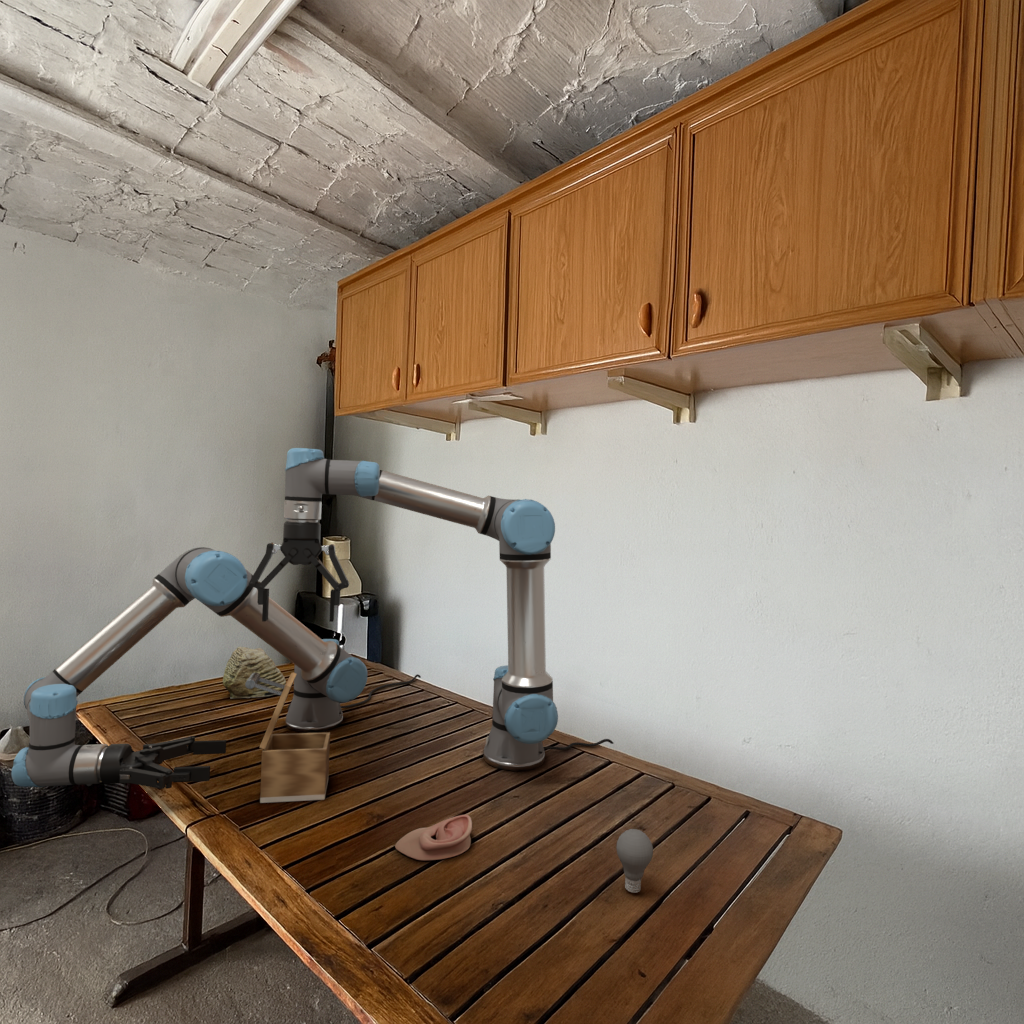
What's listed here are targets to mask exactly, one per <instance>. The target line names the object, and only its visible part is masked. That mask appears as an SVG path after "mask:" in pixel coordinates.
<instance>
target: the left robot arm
mask: <svg viewBox="0 0 1024 1024" xmlns="http://www.w3.org/2000/svg"><path fill="white" fill-rule="evenodd" d="M253 575H254V574H252V573H251V572H250V571H249V570H247V569H246V567H245V566H244V564H243V563H242V561H241V560H239V558H237V557H236V556H234V555H233V554H231V553H229V552H226V551H223V550H215V549H213V548H211V547H204V546H200V547H198V546H197V547H194V548H191V549H188V550H186V551H184V552H183V553H182V554H179V556H177V557H176V558H175V559H174V560H173V561H171V563H169V564H168V565H167V566H166V567H165V568H164V569H163V570H161V571H160V572H159V573H158V574H157V575H156V576H155V577H153V578H152V582H151V585H150V587H149V588H147V590H145V591H144V592H143V593H142V594H140V595H139V596H138V597H137V598H136V599H134V601H132V602H131V603H130V604H129V605H127V606H126V607H125V608H124V609H122V611H120V613H118V614H117V615H116V616H115V617H113V618H112V620H110V621H109V622H108V623H107V624H106V625H104V626H103V627H102V628H101V629H100V630H98V631H97V632H96V633H95V634H94V635H93V636H92V637H90V638H89V639H88V640H87V641H86V642H84V643H83V644H82V645H81V646H80V647H79V648H78V649H76V650H75V651H73V653H72V654H71V655H69V656H68V657H67V658H66V659H65V660H64V661H62V662H61V663H60V664H59V665H58V666H56V667H55V668H54V669H53V670H52V671H51V672H49V673H48V674H47V675H46V676H43V677H39V678H37V679H35V680H34V681H32V682H30V684H29V685H28V686H27V688H26V689H25V692H24V696H23V706H24V708H25V709H26V712H27V717H28V721H29V742H28V746H26V747H23V748H21V749H20V750H19V751H18V752H17V754H16V755H15V757H14V759H13V766H12V767H11V779H12V782H13V783H14V784H15V785H16V786H18V787H21V788H22V787H24V788H26V787H27V788H40V789H41V788H46V787H58V786H59V787H61V786H80V785H82V786H83V785H86V787H91V786H92V785H99V784H101V783H102V784H104V785H106V784H110V785H111V784H131V785H137V786H142V787H147V788H151V789H158V790H163V789H171V788H172V787H173V783H174V784H175V783H195V782H196V783H197V782H209V781H210V780H211V765H201V766H200V765H199V766H177V767H174V768H173V769H171V768H168V767H165V766H163V765H162V764H163V762H165V761H168V760H171V759H175V758H179V757H182V756H187V755H189V754H193V755H195V756H197V755H221V754H225V755H226V753H227V739H217V740H215V739H214V740H213V739H211V740H196V736H190V737H189V736H188V737H183V738H179V739H178V738H177V739H172V740H168V741H162V742H161V741H160V742H156V743H145V744H142V749H140V750H136V751H134V749H133V746H132V745H131V744H130V743H111V744H107V743H97V744H76V722H77V706H78V698H77V697H79V696H80V695H81V694H82V693H83V692H84V691H85V690H86V689H87V688H88V687H90V686H91V685H92V684H93V683H94V682H96V681H97V680H98V678H100V677H101V676H102V675H103V674H104V673H105V672H106V671H107V670H109V669H110V668H111V667H112V666H113V665H114V664H115V663H117V661H119V660H120V659H121V658H122V657H123V656H124V655H125V654H127V653H128V652H129V651H130V650H131V649H132V648H133V647H135V645H136V644H138V643H139V642H140V641H141V640H143V638H145V637H146V636H147V635H148V634H150V632H152V630H153V629H155V628H156V627H157V626H158V625H160V624H161V623H162V622H163V621H164V620H165V619H166V618H168V616H169V615H170V614H172V613H173V612H174V611H175V610H177V609H179V608H185V607H186V606H187V605H188V604H190V602H192V601H194V600H196V601H198V602H200V603H201V604H202V605H204V606H205V607H206V608H208V609H209V610H211V611H212V612H213V613H214V614H216V615H217V616H219V617H220V618H221V617H222V618H224V617H229V616H230V617H232V618H233V619H234V620H236V621H237V622H238V623H239V624H241V625H242V626H243V627H245V628H246V629H247V630H249V631H250V632H251V633H253V634H254V635H255V636H256V637H258V638H259V639H261V640H262V641H263V642H264V643H266V644H267V645H269V646H270V647H271V648H272V649H274V650H275V651H276V652H278V653H279V654H280V655H281V656H283V657H284V658H286V659H287V660H288V661H290V662H291V663H292V664H293V665H294V672H293V673H296V674H297V675H296V677H295V679H294V682H293V695H292V696H293V697H292V699H291V702H290V703H289V704H288V706H287V708H286V709H287V710H288V711H287V713H286V715H285V726H286V728H287V729H289V730H291V731H294V732H295V731H296V732H300V733H319V732H325V731H329V730H332V729H335V728H337V727H339V726H340V725H342V723H343V722H344V714H343V709H349V708H353V707H357V706H360V705H363V704H365V703H367V702H370V700H371V698H372V694H373V693H374V692H376V691H378V690H381V689H383V688H386V687H391V686H399V685H400V686H401V685H407V684H410V683H413V682H414V681H415V680H416V679H417V678H419V679H420V678H422V676H421V675H420V674H415V675H414V677H413V678H411V679H410V680H407V681H401V682H392V683H385V684H383V685H380V686H377V687H375V688H374V689H373V688H372V689H371V691H370V692H369V693H368V698H366V699H364V700H362V701H359V702H356V703H352V704H347V705H341V704H344V703H349V702H352V701H354V700H355V699H357V698H358V697H359V696H360V695H361V693H363V691H364V689H365V687H366V685H367V682H368V675H369V673H368V669H367V666H366V664H365V662H363V661H362V660H361V659H360V658H359V657H356V656H353V655H351V654H350V653H349V652H347V650H345V649H344V648H343V647H341V646H340V641H339V640H338V639H336V638H323V639H322V638H321V637H320V636H318V635H317V634H316V633H314V632H313V631H312V630H311V629H310V628H308V627H307V626H305V625H304V624H303V623H302V622H301V621H300V620H298V619H297V618H296V617H295V616H293V615H292V614H291V613H290V612H289V611H287V610H286V609H285V608H284V607H282V606H281V604H278V603H277V602H276V601H275V600H273V599H272V598H271V597H270V596H269V608H268V620H267V621H262V610H263V605H258V602H257V601H258V590H257V588H255V587H251V586H249V582H250V580H251V578H252V576H253Z"/></svg>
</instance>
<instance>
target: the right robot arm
mask: <svg viewBox="0 0 1024 1024" xmlns="http://www.w3.org/2000/svg"><path fill="white" fill-rule="evenodd" d="M284 471H285V472H284V473H285V474H284V476H285V477H284V478H285V479H284V505H283V506H284V510H283V518H284V519H285V520H286V521H284V522H283V531H282V534H283V535H282V543H281V544H279V543H275V542H269V543H267V544H266V548H265V553H264V555H263V557H262V559H261V561H260V562H259V564H258V566H257V567H256V569H255V571H254V573H253V574H252V575H253V576H252V578H251V580H250V582H249V586H251V587H255V588H257V590H258V601H257V602H258V605H263V610H262V621H267V620H268V608H269V597H270V588H266V587H267V586H268V585H269V584H270V583H271V582H272V581H273V580H274V578H276V576H278V574H279V573H280V572H281V571H282V570H283V569H284V568H285V567H286V566H287V565H288V564H291V565H293V566H298V565H302V566H309V565H311V564H312V565H313V566H314V567H315V568H316V569H317V570H318V572H319V573H320V574H321V575H322V576H323V577H324V579H325V580H326V582H328V584H329V585H330V586H331V587H332V588H333V589H332V588H331V589H330V595H329V596H330V597H329V619H328V620H329V622H334V621H335V606H339V605H340V603H341V591H342V590H344V589H347V588H349V586H350V581H349V580H348V578H347V577H348V576H347V575H346V573H345V571H344V569H343V566H342V565H341V562H340V560H339V558H338V556H337V553H336V545H335V544H334V543H331V544H325V545H322V543H321V531H322V530H321V528H322V527H321V526H322V524H321V523H320V522H319V521H320V520H322V506H323V504H322V500H323V499H322V497H323V495H336V496H337V495H338V496H354V497H359V498H362V499H365V500H369V501H375V502H378V503H381V504H384V505H389V506H392V507H396V508H400V509H403V510H408V511H411V512H414V513H417V514H418V513H419V514H421V515H424V516H428V517H432V518H436V519H440V520H444V521H448V522H451V523H455V524H458V525H462V526H466V527H469V528H473V529H475V531H476V532H477V534H479V535H482V536H483V535H484V536H486V537H488V538H491V539H494V540H496V541H498V542H499V543H498V546H499V547H498V549H499V561H500V562H501V564H503V565H504V566H505V569H506V614H507V615H506V618H507V626H506V627H507V665H500V666H497V667H496V668H495V669H494V676H493V694H492V695H493V698H492V699H493V700H492V716H491V717H492V719H491V728H490V731H489V733H488V735H487V736H486V738H485V745H484V748H483V756H482V757H483V760H484V762H486V764H488V765H490V766H491V767H494V768H496V769H500V770H505V771H511V772H512V771H513V772H519V771H520V772H521V771H530V770H533V769H536V768H538V767H540V766H542V765H544V763H545V760H546V759H545V758H546V757H545V756H546V752H545V750H556V751H566V750H569V749H571V748H572V747H574V746H580V747H588V748H591V747H592V748H593V747H597V746H599V745H601V744H603V743H607V742H608V743H609V744H611V745H613V744H614V742H613V741H612V740H611V739H610V738H604V739H601V740H599V741H597V742H594V743H593V742H592V743H587V742H585V743H584V742H577V741H576V742H571V743H570V744H568V745H566V746H544V744H543V742H544V741H546V740H547V739H548V738H549V737H550V736H551V735H552V734H554V732H555V730H556V728H557V726H558V723H559V713H558V707H557V706H556V703H555V702H554V681H553V680H554V679H553V676H552V675H551V674H550V673H548V671H547V658H546V657H547V655H546V652H547V651H546V650H547V649H546V598H545V597H546V596H545V595H546V594H545V593H546V592H545V591H546V588H545V587H546V586H545V585H546V584H545V567H546V565H547V564H549V562H550V561H551V560H552V542H553V540H554V538H555V533H556V523H555V519H554V517H553V514H552V513H551V511H550V510H549V509H548V507H546V506H545V505H544V504H542V503H541V502H539V501H538V500H534V499H528V498H523V499H519V498H518V499H511V498H510V499H509V498H499V497H495V496H492V495H486V496H485V497H481V496H477V495H474V494H470V493H469V494H468V493H465V492H462V491H458V490H454V489H451V488H447V487H444V486H440V485H437V484H433V483H429V482H427V481H422V480H419V479H415V478H412V477H409V476H404V475H402V474H401V475H400V474H398V473H394V472H391V471H387V470H383V469H381V467H380V464H379V463H378V462H376V461H375V462H374V461H368V460H346V459H330V458H329V459H328V458H325V456H324V452H323V450H322V449H318V448H306V447H292V448H290V449H289V450H288V451H287V454H286V463H285V468H284ZM278 551H280V552H281V553H282V555H283V556H284V557H283V559H282V560H281V561H280V562H279V563H278V564H277V565H276V566H275V567H274V568H273V569H272V570H271V571H270V573H268V574H267V575H266V576H265V578H264V579H263V580H262V581H259V580H260V578H261V577H262V575H263V574H264V572H265V569H266V568H267V566H268V565H269V562H270V561H271V559H272V558H273V555H275V554H276V553H278ZM322 551H323V552H324V553H325V555H326V556H329V559H330V561H331V564H332V566H333V568H334V570H335V572H336V574H337V576H338V578H339V580H340V583H339V581H337V579H336V578H335V576H333V574H332V573H331V572H330V570H328V568H327V567H326V566H325V564H324V563H323V562H322V560H321V559H320V558H319V555H320V554H321V552H322Z"/></svg>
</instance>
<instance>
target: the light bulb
mask: <svg viewBox="0 0 1024 1024" xmlns="http://www.w3.org/2000/svg"><path fill="white" fill-rule="evenodd" d="M615 849H616V854H617V857H618V859H619V861H620V863H621V865H622V867H623V873H624V874H623V875H624V876H625V878H624V888H625V890H627V891H628V892H630V893H634V894H635V893H639V892H640V891H641V889H642V887H641V886H642V879H643V877H644V875H645V871H646V868H647V867H648V866H649V864H650V863H651V861H652V859H653V855H654V847H653V843H652V841H651V838H649V836H648V835H647V834H646V833H645V832H643V831H642V830H641V829H636V828H629V829H627V830H625V831H623V832H622V833H621V834H620V835H619V837H618V839H617V841H616V847H615Z"/></svg>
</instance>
